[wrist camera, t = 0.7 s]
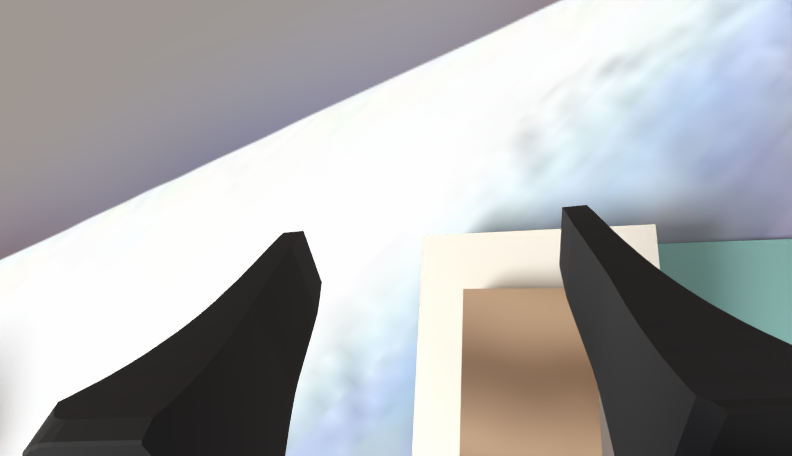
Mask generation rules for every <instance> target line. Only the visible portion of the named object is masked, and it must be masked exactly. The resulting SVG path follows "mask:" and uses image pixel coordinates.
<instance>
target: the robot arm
mask: <svg viewBox="0 0 792 456" xmlns="http://www.w3.org/2000/svg"><path fill="white" fill-rule="evenodd" d="M559 266H560V271H561V276H562V281H563V285H564V289H565V294H566V298H567V301H568V303H569V306H570V309H571V312H572V315H573V317H574V320H575V323H576V326H577V328H578V331H579V334H580V336H581V339H582V342H583V345H584V347H585V350H586V353H587V356H588V358H589V361H590V364H591V366H592V369H593V373H594V376H595V379H596V382H597V386H598V390H599V394H600V398H601V402H602V406H603V410H604V414H605V418H606V422H607V426H608V430H609V435H610V439H611V443H612V447H613V452H614V456H792V345H791V344H789V343H787V342H785V341H783V340H781V339H778V338H776V337H774V336H772V335H770V334H767V333H765V332H763V331H761V330H759V329H757V328H755V327H753V326H751V325H749V324H747V323H745V322H743V321H741V320H740V319H738V318H736V317H734V316H732V315H730V314H729V313H727V312H725V311H723V310H721V309H719V308H718V307H716V306H714V305H712V304H711V303H709V302H707V301H706V300H704V299H702V298H701V297H699V296H698V295H696V294H694V293H693V292H691V291H690V290H688V289H687V288H685V287H684V286H682V285H680V284H679V283H677V282H676V281H675V280H673V279H672V278H670V277H669V276H667V275H666V274H665V273H663V272H662V271H661V270H659V269H658V268H657V267H655V266H654V265H653V264H652V263H650V262H649V261H648V260H647V259H645V258H644V257H643V256H642V255H641V254H639V253H638V252H637V251H636V250H635V249H634V248H632V247H631V246H630V245H629V244H628V243H627V242H625V241H624V240H623V239H622V238H621V237H620V236H619V235H618V234H617V233H616V232H614V231H613V230H612V229H611V228H610V227H609V226H608V225H607V224H606V223H605V222H604V221H603V220H602V219H601V218H600V217H599V216H598V215H597V214H596V213H595V212H594V211H593V210H591V209H590V208H589V207H588V206H587V205H583V206H572V207H562V224H561V241H560V259H559ZM321 283H322V282H321V279H320V277H319V274H318V271H317V268H316V265H315V263H314V260H313V257H312V254H311V251H310V249H309V246H308V243H307V240H306V237H305V235H304V232H303V231H299V232H289V233H283V234H282V235H281V236H280V237H279V238H278V239H277V240H276V241H275V242H274V243H273V244H272V245H271V246H270V247H269V248H268V249H267V250H266V251H265V252H264V253H263V254H262V255H261V256H260V257H259V258H258V260H257V261H256V262H255V263H254V264H253V265H252V266H251V267H250V268H249V269H248V270H247V271H246V272H245V273H244V274H243V275H242V276H241V277H240V278H239V279H238V280H237V281H236V282H235V283H234V284H233V285H232V286H231V287H230V288H229V289H228V290H226V291H225V292H224V293H223V294H222V295H221V296H220V297H219V298H218V299H217V300H216V301H215V302H214V303H213V304H211V305H210V306H209V307H208V308H207V309H206V310H205V311H203V312H202V313H201V314H200V315H199V316H197V317H196V318H195V319H194V320H192V321H191V322H190V323H188V324H187V325H186V326H185V327H183V328H182V329H181V330H179V331H178V332H177V333H175V334H174V335H172V336H171V337H169V338H168V339H167V340H165V341H164V342H162V343H161V344H159V345H158V346H157V347H155V348H154V349H152V350H151V351H149V352H148V353H146V354H145V355H143V356H142V357H140V358H138V359H137V360H135V361H133V362H132V363H130V364H129V365H127V366H125V367H124V368H122V369H120V370H118V371H117V372H115V373H113V374H112V375H110V376H108V377H106V378H104V379H103V380H101V381H99V382H97V383H95V384H93V385H91V386H89V387H87V388H85V389H83V390H81V391H79V392H77V393H75V394H74V395H72V396H70V397H68V398H66V399H64V400H61V401H59V402H58V403H57V405H56V406H55V408H54V409H53V410H52V412H51V413H50V415H49V416H48V418H47V419H46V420H45V422H44V423H43V425H42V426H41V428H40V429H39V430H38V432H37V433H36V435H35V436H34V438H33V439H32V440H31V442H30V443H29V445H28V446H27V448H26V449H25V450H24V452H23V456H285V452H286V445H287V439H288V432H289V425H290V420H291V414H292V408H293V402H294V397H295V392H296V388H297V384H298V380H299V376H300V373H301V369H302V366H303V362H304V359H305V355H306V352H307V348H308V345H309V342H310V338H311V335H312V331H313V327H314V324H315V320H316V316H317V312H318V306H319V299H320V291H321Z"/></svg>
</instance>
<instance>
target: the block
mask: <svg viewBox="0 0 792 456" xmlns="http://www.w3.org/2000/svg"><path fill="white" fill-rule="evenodd" d="M459 456H602V442H601V424H600V407H599V390H598V386H597V382H596V379H595V376H594V373H593V369H592V366H591V364H590V361H589V358H588V356H587V353H586V350H585V347H584V345H583V342H582V339H581V336H580V334H579V331H578V328H577V326H576V323H575V320H574V317H573V315H572V312H571V309H570V306H569V303H568V301H567V298H566V294H565V289H564V288H537V289H463V321H462V365H461V409H460V454H459Z"/></svg>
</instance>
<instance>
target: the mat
mask: <svg viewBox="0 0 792 456" xmlns="http://www.w3.org/2000/svg"><path fill="white" fill-rule="evenodd" d="M657 245H658V255H659V265H660V270H661V271H662V272H663V273H665V274H666V275H667V276H669V277H670V278H672V279H673V280H675V281H676V282H677V283H679V284H680V285H682V286H684V287H685V288H687V289H688V290H690V291H691V292H693V293H694V294H696V295H698V296H699V297H701V298H702V299H704V300H706V301H707V302H709V303H711V304H712V305H714V306H716V307H718V308H719V309H721V310H723V311H725V312H727V313H729V314H730V315H732V316H734V317H736V318H738V319H740V320H741V321H743V322H745V323H747V324H749V325H751V326H753V327H755V328H757V329H759V330H761V331H763V332H765V333H767V334H770V335H772V336H774V337H776V338H778V339H781V340H783V341H785V342H787V343H789V344H791V345H792V239H776V240H748V241H719V242H691V243H663V244H657Z"/></svg>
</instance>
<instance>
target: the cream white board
mask: <svg viewBox="0 0 792 456" xmlns="http://www.w3.org/2000/svg"><path fill="white" fill-rule="evenodd" d="M609 227H610V228H611V229H612V230H613V231H614V232H616V233H617V234H618V235H619V236H620V237H621V238H622V239H623V240H624V241H625V242H627V243H628V244H629V245H630V246H631V247H632V248H634V249H635V250H636V251H637V252H638V253H639V254H641V255H642V256H643V257H644V258H645V259H647V260H648V261H649V262H650V263H652V264H653V265H654V266H655V267H657V268H658V269H659V270H660V265H659V255H658V245H657V235H656V225H655V224H649V225H629V226H609ZM560 241H561V229H548V230H527V231H507V232H487V233H466V234H446V235H426V236H423V242H422V263H421V283H420V304H419V324H418V344H417V365H416V385H415V406H414V426H413V446H412V456H459V454H460V409H461V365H462V321H463V289H537V288H564V285H563V281H562V276H561V271H560V266H559V259H560ZM599 407H600V424H601V442H602V456H614V452H613V447H612V443H611V439H610V435H609V430H608V426H607V422H606V418H605V414H604V410H603V406H602V402H601V398H600V394H599Z"/></svg>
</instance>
